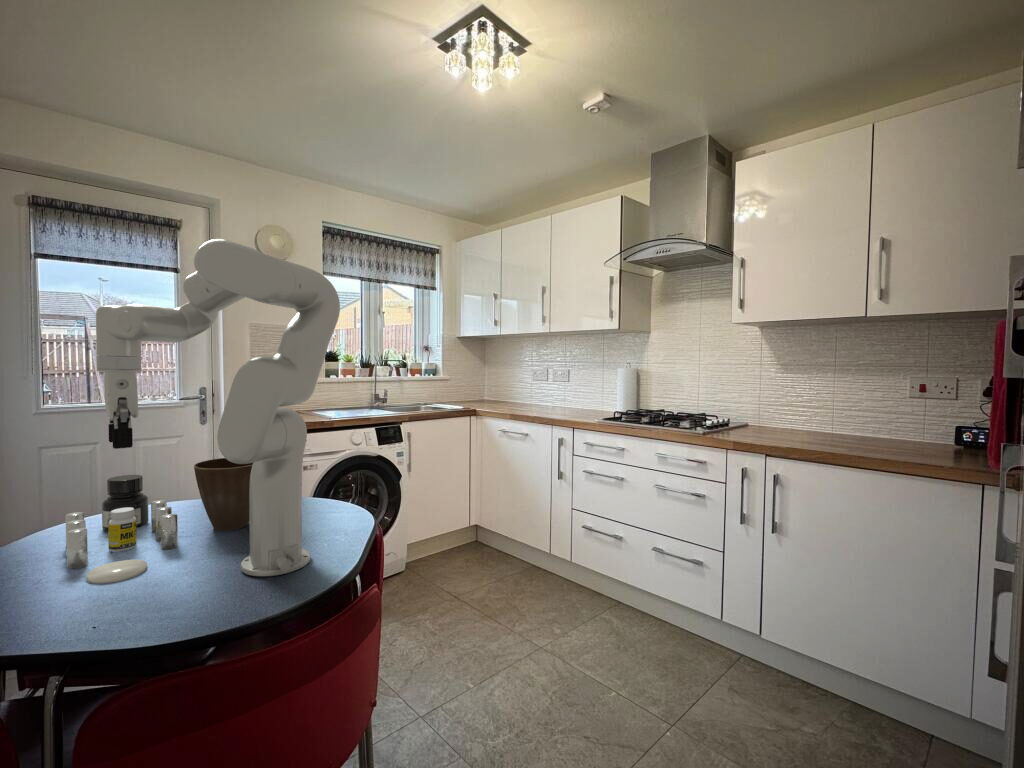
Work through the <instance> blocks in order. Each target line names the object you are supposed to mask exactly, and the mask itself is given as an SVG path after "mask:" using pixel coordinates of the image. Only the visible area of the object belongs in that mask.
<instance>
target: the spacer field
mask: <svg viewBox="0 0 1024 768" xmlns="http://www.w3.org/2000/svg"><path fill="white" fill-rule="evenodd" d="M150 509H151V511H150V513H151V514H150V518H151V520H150V521H151V524H150V525H151V533H152V534H155V541H156V542H160V550H161V551H170V550H175V549H177V548H178V546H179V542H178V541H179V540H178V539H179V538H178V535H179V534H178V532H179V531H178V528H179V527H178V523H179V522H178V514H177V513H173V508H172V507H171V506H168V505H167V500H164V499H160V500H154V501H151V502H150ZM86 525H87V524H86V520H85V512H82V511H78V512H71V513H67V514H65V548H66V558H67V559H66V560H67V565H66V566H67V569H68V570H77V569H81V568H85V567H87V566H88V565H89V562H88V561H89V555H88V554H89V553H88V549H89V547H88V529H87V528H86Z"/></svg>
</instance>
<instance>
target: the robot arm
mask: <svg viewBox="0 0 1024 768" xmlns="http://www.w3.org/2000/svg"><path fill="white" fill-rule="evenodd" d="M193 259H194V260H193V264H194V265H193V266H194V269H195V271H194V272H193V273H191V274H188V276H186V277H185V279H184V281H183V284H182V288H183V292H184V295H185V298H187V301H188V302H186V303H184V304H183V305H181V306H178V307H175V308H173V307H165V306H158V305H150V304H149V305H148V304H139V303H132V304H131V303H130V304H124V305H102V306H101V305H100V306H99V307H98V308H97V309H96V311H95V342H96V343H95V347H96V350H95V351H96V372H101V373H102V372H103V382H104V383H103V387H104V389H103V390H104V391H103V392H104V403H105V404H104V405H105V411H106V415H107V417H108V418H109V423H108V443H112V448H113V449H115V450H117V449H129V448H133V441H134V440H133V427H132V417H133V418H134V419H137V418H138V417H139V400H138V399H139V397H138V379H137V373H139V372H140V373H141V372H142V371H143V369H142V342H151V343H152V342H155V343H156V342H159V343H181V342H185V341H188V340H190V339H193V338H194V337H196V336H198V335H201V334H202V333H204V332H206V331H207V330H209V329H210V328H211V327H212V326H213V324H214V323H215V321H216V320H217V319H218V315H219V312H220V311H222V310H224V309H226V308H227V307H229V306H231V305H234V304H236V303H237V302H239V301H242V300H243V299H245V298H248V299H251V300H253V301H256V302H259V303H262V304H266V305H270V306H275V307H277V306H278V307H283V308H289V309H294V310H295V311H296V314H295V315H294V317H292V319H291V320H290V322H289V323H288V324H287V325H286V327H285V329H284V330H283V333H282V335H281V339H280V342H279V346H278V348H277V350H276V353H275V355H272V356H271V355H268V356H266V355H264V356H256V357H253V358H252V359H251V358H250V359H249V360H247V362H245V363H244V364H243V365H242V366H241V367H240V368H239V369H238V370H237V372H236V373H235V375H234V377H233V380H232V383H231V386H230V389H229V393H228V395H227V399H226V402H225V406H224V408H223V412H222V415H221V417H220V422H219V425H218V429H217V439H216V440H217V446H218V449H219V452H220V453H221V456H223V458H226V459H227V460H228V461H230V462H232V463H236V464H248V463H253V462H254V463H253V466H252V469H251V474H250V490H249V504H250V521H249V555H248V556H246V557H245V558H243V560H242V561H241V563H240V570H241V572H242V573H244V574H245V575H248V576H253V577H274V576H280V575H284V574H289V573H292V572H294V571H295V572H296V571H298V570H299V569H301V568H304V567H305V566H306V565H307V564H308V563H309V562H310V560H311V553H310V551H309V550H307V549H305V548H303V534H302V533H303V527H302V526H303V524H302V523H303V516H302V515H303V508H302V507H303V506H302V505H303V502H302V501H303V494H302V493H303V463H304V462H303V461H304V456H305V455H304V454H305V449H306V446H307V444H306V443H307V436H308V429H307V425H306V424H307V423H306V422H305V420H304V418H303V416H302V415H301V414H300V413H299V412H298V411H295V410H294V409H291V408H288V406H295V405H300V404H302V403H305V402H307V401H308V400H310V398H311V397H312V395H313V393H314V391H315V389H316V386H317V382H318V380H319V376H320V373H321V370H322V367H323V364H324V362H325V359H326V354H327V352H328V351H327V350H328V347H329V345H330V342H331V339H332V336H333V334H334V332H335V329H336V327H337V324H338V320H339V316H340V312H341V303H340V302H341V301H340V297H339V295H338V291H337V290H336V288H335V286H334V285H333V283H332V282H331V281H330V280H329V279H328V278H327V277H326V276H325V275H323V274H321V273H320V272H318V271H316V270H314V269H312V268H310V267H306V266H303V265H302V264H301V265H300V264H296V263H295V262H290V261H287V260H285V259H281V258H277V257H275V256H272V255H269V254H265V253H262V252H261V251H259V250H257V249H255V248H253V247H249V246H247V245H243V244H240V243H237V242H234V241H232V240H228V239H223V238H215V239H210V240H208V241H206V242H204V243H203V244H202V245H200V246H199V248H197V250H196V252H195V254H194V258H193Z"/></svg>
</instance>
